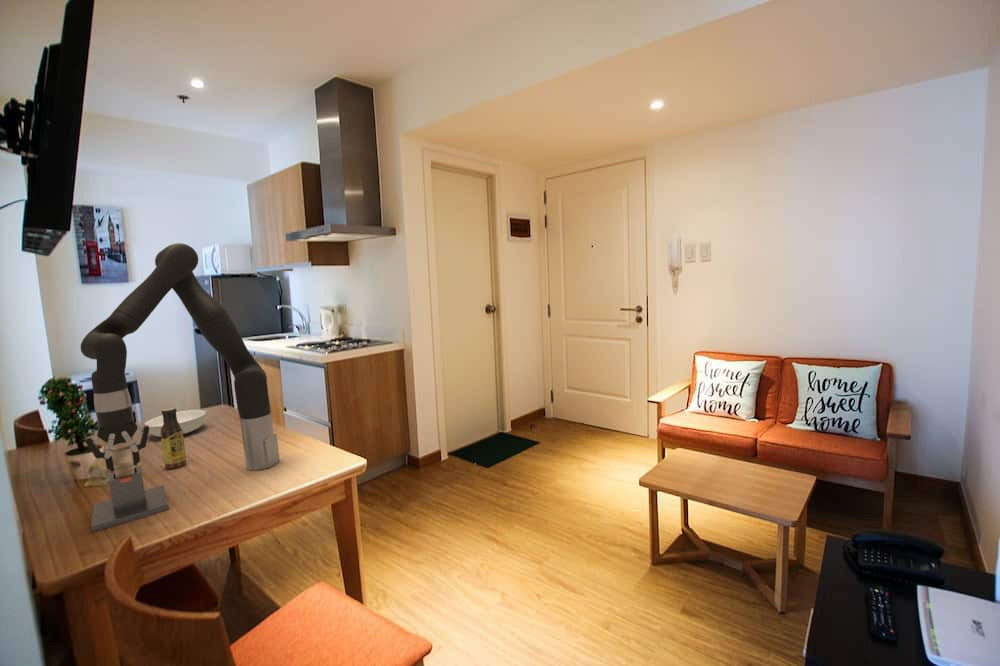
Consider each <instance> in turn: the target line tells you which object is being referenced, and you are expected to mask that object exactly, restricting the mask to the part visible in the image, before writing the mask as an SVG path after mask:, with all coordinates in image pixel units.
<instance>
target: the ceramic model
mask: <svg viewBox="0 0 1000 666" xmlns="http://www.w3.org/2000/svg"><path fill="white" fill-rule="evenodd" d="M115 448H116V447H113V449H115ZM105 450H106V448H105V449H104V451H103V452H105ZM111 456H112V451H111ZM113 465H114V464H113ZM133 465H134V461H133ZM138 466H142V465H141V461H140V462H139V463H137V465H135V466H134V467H138ZM113 472H115V470H114V471H111V470H108V469H107V467H106V461H105V459H104V458H95V460H94V461H93V463H92V464H90V465H89V467H88V468H87V473H88V474H89V476H90V478H89V479H87V480H86V482H85V483H84V485H83V486H84V487H86V488H87V487H104V486H109V473H113Z"/></svg>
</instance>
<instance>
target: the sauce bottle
mask: <svg viewBox="0 0 1000 666" xmlns="http://www.w3.org/2000/svg"><path fill="white" fill-rule="evenodd" d="M176 412H178V411H177V408H176V407H169V408H164V409H161V414H162V415H163V422H164V424H163V426H162V428H161V437H160V443H161V448H162V449H161V451H162V458H163V464H164V468H165V469H167V470H172V469H177V468H180V467H183V466H185V465H186V464H187V456H186V455H187V453H186V445H185V438H184V435H183V430H182V429H181V427H180V425H179V423H178V421H177V417H176ZM162 415H161V416H162Z"/></svg>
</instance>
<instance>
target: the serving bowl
mask: <svg viewBox="0 0 1000 666" xmlns="http://www.w3.org/2000/svg"><path fill="white" fill-rule="evenodd" d="M206 415H207V412H206V411H205V410H202V409H188V410H182V411H181V410H180V411H177V412H176V417H177V421H178V423H179V425H180V427H181V429H182V430H183V436H185V435H187V434H189V433H191V432H193V431H196V430H197V429H199V428H201V426H202V425H203V424H204V422H205V420H206V417H207V416H206ZM163 424H164V422H163V415H160V416H156V417H154V418H151V419H149V420H147V421H146V422H145V423H144V425H148V426H149V433H148V434H149V435H150V434H151V435H152V436H155V437H159V438H161V428H162V426H163Z"/></svg>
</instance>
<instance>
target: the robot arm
mask: <svg viewBox="0 0 1000 666" xmlns="http://www.w3.org/2000/svg"><path fill="white" fill-rule="evenodd" d="M154 264H155V268H154V269H153V271H152V272H151V273H150V274H149V275H148V276H147V277H146V278H145V279H144V281H142V282H141V283H140V284H139V285H138V286H137V287H136V288H135V289H133V291H131V293H129V294H128V295H127V296H126V297H125V298H124V299H123V300H122V301H121V302H120V304H119V305H118V306H117V307H116V308H114V310H113V311H112V312H111V314H110V315H109V317H107V318H106V319H104V320H103V321H101V322H100V323H99V324H98V325H97V326H95V327H94V328H92V329H91V330H90V331H89V332H88V333H87V334H86V335H85V337H84V338H83V339H82V341H81V343H80V352H81V353H82V355H83V356H84V357H85V358H87V359H91V360H96V370H95V371H93V372H92V373H91V376H90V377H91V385H92V392H93V405H94V410H95V416H96V420H97V425H98V426H97V427H98V431H97V432H96V434H93V435H91V436H90V435H89V436H87V437H86V438H85V443H86V446H87V447H88V448H89V450H90V451H91V452H92V455H93V457H94V458H95V459H96V458H104V459H105V461H106V467H107V469H108V470H111V471H114V465H113V459H112V456H111V451H112V449H113V448H114V447H113V446H115V445H116V446H117V445H119V444H126V443H127V446H128V445H129V446H130V448H131V453H132V459H133V462H134V466H135V465H137V463H139V462H140V463H141V457H140V453H139V452H140V450H142V449H145V448H146V447H147V442H148V439H149V438H148V437H149V434H150V433H149V426H148V425H145V424H144V425H138V424H137V423H136V422H135V417H134V412H133V411H134V410H133V406H132V399H131V395H130V392H129V388H128V382H127V376H126V368H127V358H128V351H127V345H126V343H125V340H124V338H125V337H126V336H128V335H130V334H133V333H135V332H136V331H137V330H139V329H140V327H141V326H142V325H143V324H144V322H145V321H146V320H147V319H148V318H149V317H150V315H151V314H152V313H153V312H154V310H155V309H156V308H157V306H158V305H160V303H161V302H162V300H163V299H164V298H165V297H166V296H167V294H168V293H169V292H170V291H171V290H173V291H174V292H175V294H176V296H177V297H178V298H179V299H180V301H181V303H182V305H183V306H184V307H185V310H186V312H188V314H189V315H190V317H191V318H192V320H193V322H194V324H195V326H197V328H198V330H199V332H200V333H201V335H202V336H203V337H204V339H205V340H206V341H207V343H208V344H209V345H210V346H211V347H212V348H213V349H214V350H215V351H216V352H217V353H218V354H219V355H220V356H221V357H222V358H223V360H224V361H225V363H226V364H227V366H228V367H229V369H230V371H231V373H232V375H233V377H234V382H233V384H234V385H233V387H234V394H235V400H236V402H235V403H236V406H237V407H236V408H237V411H238V416H239V423H240V429H241V430H240V431H241V436H242V437H241V438H242V445H243V454H244V460H245V468H246V470H249V471H260V470H265V469H270V468H272V467H273V466H275V465H276V464H277V463H279V462H280V461H281V460H280V459H281V458H280V451H279V443H278V435H277V433H274V426H273V417H272V411H271V410H272V409H271V403H270V396H269V389H268V377H267V373H266V371H265V370H264V369H263V368H262V367H261V365H260V364H259V363H258V362H257V360H256V359H255V357H253V355H252V353H251V352H250V351H249V350H248V348H247V347H246V344H245V342H244V340H243V338H242V336H241V334H240V332H239V329H238V328H237V326H236V324H235V323H234V321H233V319H232V317H231V316H230V315H229V313H228V311H227V310H226V308H225V307H224V306H223V305H222V304H221V303H220V302H219V301H218V299H217V300H216V299H215V297H213V296H212V295H211V294H210V293H208V292H207V291H206V290H205V289H204V288H203V286H202V284H200V283H199V281H198V279H197V277H196V276H195V274H194V272H193V271H195V270H196V268H197V266H198V265H199V256H198V253H197V251H196V250H195V249H194V247H192V246H190V245H188V244H185V243H183V242H181V243H180V242H178V243H173V244H172V243H171V244H170V245H168V246H166V247H165V248H163V249H162V250H160V251H159V252H158V253H157V254H156V255H155V259H154ZM137 431H138V432H139V434H140V435H141V437H140V442H139V443H138V444H137V442H135V440H134V438H133V436H134V435H135V434H136V432H137ZM98 439H100V440H102V441H103V442H105V443H106V444H105V445H106V446H105V449H106V450H105V449H104V450H105V451H101V450H100V448H99V447H98V445H97V444H98Z"/></svg>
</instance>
